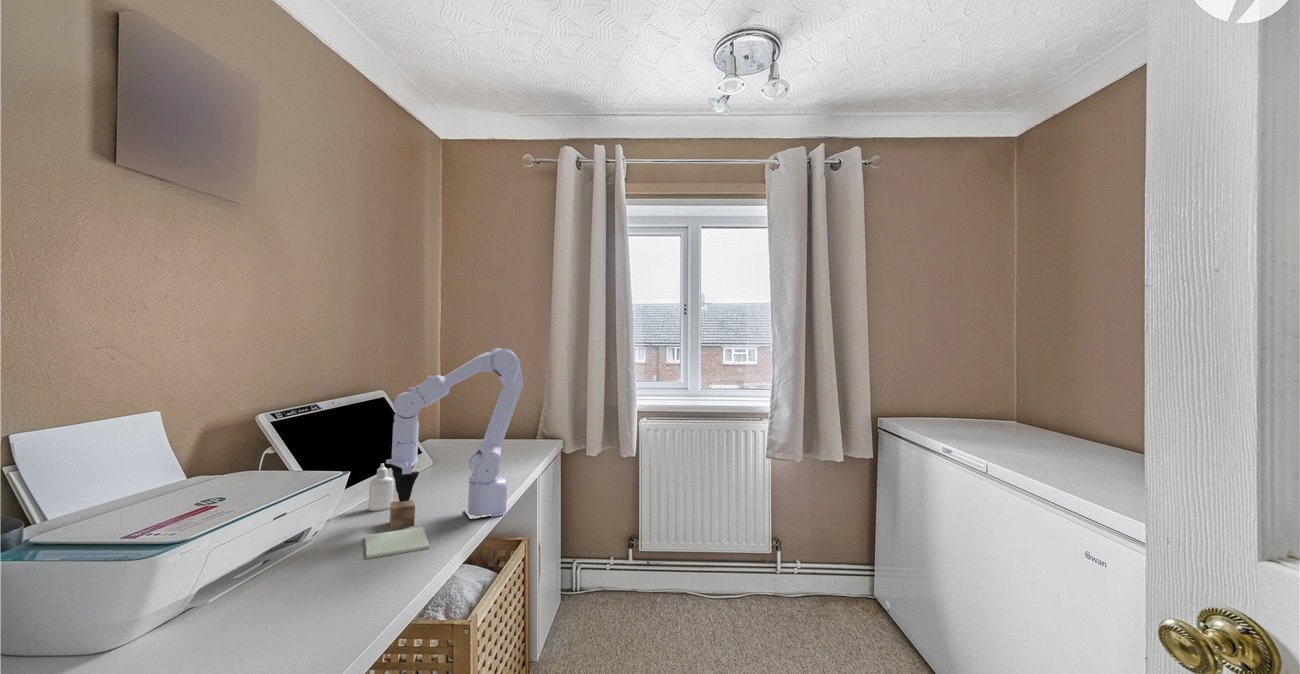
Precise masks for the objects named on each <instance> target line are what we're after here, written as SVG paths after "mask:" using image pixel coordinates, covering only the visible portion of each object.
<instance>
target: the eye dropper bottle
mask: <svg viewBox="0 0 1300 674" xmlns="http://www.w3.org/2000/svg"><path fill="white" fill-rule="evenodd" d="M394 484H395V481H394V479H393V477H391V476H388V467H385V463H384V462H383V463H380V466H379V467H378V468H377V469H376V477H375V478H372V479H371V480H370V481H369V487H368V510H369V512H378V511H386V510H390V506H391V502H394Z"/></svg>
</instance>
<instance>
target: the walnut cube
mask: <svg viewBox="0 0 1300 674" xmlns="http://www.w3.org/2000/svg"><path fill="white" fill-rule="evenodd" d="M389 510H390V511H389V512H390V513H389V524H390V529H391V530H395V529H401V528H407V527H413V526H415V517H416V515H415V514H416V513H415V511H416V505H415V501H414V499H409V501H403V502H400V501H399V500H397V501H393V502H391V506H390V509H389Z"/></svg>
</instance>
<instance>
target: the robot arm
mask: <svg viewBox="0 0 1300 674" xmlns="http://www.w3.org/2000/svg"><path fill="white" fill-rule="evenodd" d="M480 372H487V373H488V372H494V373H495V374H497V376H498V378H499V380H500V382H501V383H502V387H501V391H500V393H499V396H498V399H497V402H496V404H495V407H494V409H493V412H492V414H491V418H490V421H489V423H488V427H487V429H486V431H485V433H484V438H483V439H482V441H481V443H480V444H479V445H478V447H477V449H476V451H475V452H474V453H473V454H472V456H470V458H469V462H468V466H469V470H470V471H471V472H472V473H471V475H470V477H469V478H468V494H467V495H468V500H467V508H468V513H469V514H470V515H474V516H482V515H489V514H491V517H490V518H494V517H499V516H506V515H507V497H508V496H507V492H508V491H507V489H508V488H507V486H508V485H507V481H506V478H505V477H498V476H499V473H500V459H501V456H502V446H503V442H504V440H505V437H506V434H507V432H508V430H509V426H510V423H511V421H512V418H513V415H514V412H515V409H516V407H517V404H518V401H519V398H520V396H521V393H522V390H523V387H524V379H523V374H522V373H523V372H522V369H521V360H520V359H519V357H518V356H517V355H516V353H515V352H514V351H513V350H511V349H508V348H502V347H495V348H493V349H491V350H490V351H487V352H484V353H481V354H480V355H478V356H476V357H474V358H472V359H471V360H468V361H467V362H466V363H464V364H462V365H460V366H459V367H457V368H456V369H454V370H452V371H451V372H449V373H448V374H446V375H439V374H435V375H429V376H426V380H425V381H423V382H421V383H420V384H418V385H416V386H414V387H413V386H410V387H408V390H409V391H404V392H401V393H400V394H398V395H397V396H396V397H395V399H394V402H393V404H392V405H393V408H394V411H395V412H394V415H393V420H394V421H393V423H392V425H393V426H392V442H391V443H392V445H391V458H389V459H385V464H386V465H389V467H390V469H391V471H392V478H394V479H393V480H394V485H395V490H396V493H397V497H398V501H400V502H403V501H409V500H411V499H410V498H411V495H412V492H413V487H414V484H415V482H416V480H417V479H418V477H419V474H420V472H419V471H412V470H413V469H414V467H415V465H416V464H417V463H418V462H419V457H418V452H419V451H418V450H419V430H420V429H419V428H420V422H419V413H420V412H421V409H422V408H427V407H428V406H430V405H432V404H434V403H435V402H437V401H439V400H441V399H442V398H444V397H446V396H447V395H449V394H450V390H451V387H453V386H455V385H457V384H458V383H461V382H463V381H464V380H466V379H468V378H470V377H472V376H474V375H476V374H478V373H480Z"/></svg>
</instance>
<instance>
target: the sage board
mask: <svg viewBox="0 0 1300 674" xmlns="http://www.w3.org/2000/svg"><path fill="white" fill-rule="evenodd" d="M364 540H365V554H366V555H365V556H366V559H367V560H368V559H372V558H379V557H380V558H381V557H386V556H390V555H392V556H393V555H396V554H397V555H398V554H402V553H407V552H408V553H409V552H415V551H419V550H421V549H422V550H427V549H430V543H429V541H428V538H427V534H426V531H425V529H424V527H423V526H419V527H413V528H407V529H400V530H394V531H385V532H379V533H372V534H366V535H364ZM426 548H427V549H426Z"/></svg>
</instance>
